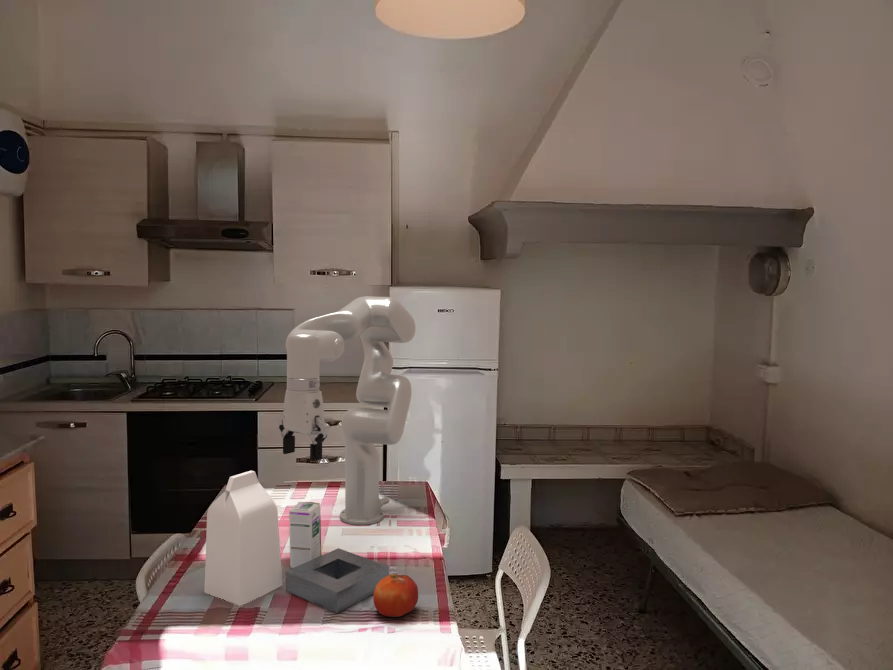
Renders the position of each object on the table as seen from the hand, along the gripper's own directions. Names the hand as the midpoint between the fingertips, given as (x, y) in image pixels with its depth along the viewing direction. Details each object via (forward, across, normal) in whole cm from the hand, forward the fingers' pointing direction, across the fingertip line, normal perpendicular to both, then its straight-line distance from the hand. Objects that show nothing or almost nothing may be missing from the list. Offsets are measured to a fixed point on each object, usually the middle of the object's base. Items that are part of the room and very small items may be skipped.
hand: (302, 456), depth 164 cm
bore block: (+26, -16, +3) cm, 31 cm away
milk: (+27, 0, +16) cm, 32 cm away
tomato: (+27, -33, +3) cm, 43 cm away
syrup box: (+26, -1, -1) cm, 26 cm away
